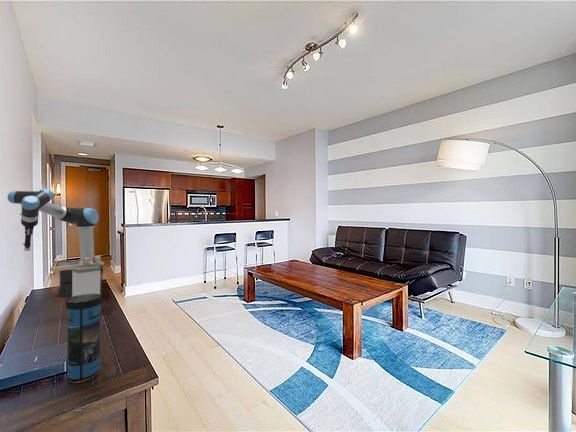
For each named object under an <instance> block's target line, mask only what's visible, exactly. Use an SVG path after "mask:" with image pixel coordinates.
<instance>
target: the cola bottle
mask: <svg viewBox="0 0 576 432" xmlns="http://www.w3.org/2000/svg"><path fill="white" fill-rule="evenodd" d="M94 257H95V256H94ZM94 257H93V263H94ZM99 267H101V270H100V295H102V297H103V296H104V292H103V283H104V268H103V266H99Z"/></svg>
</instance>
